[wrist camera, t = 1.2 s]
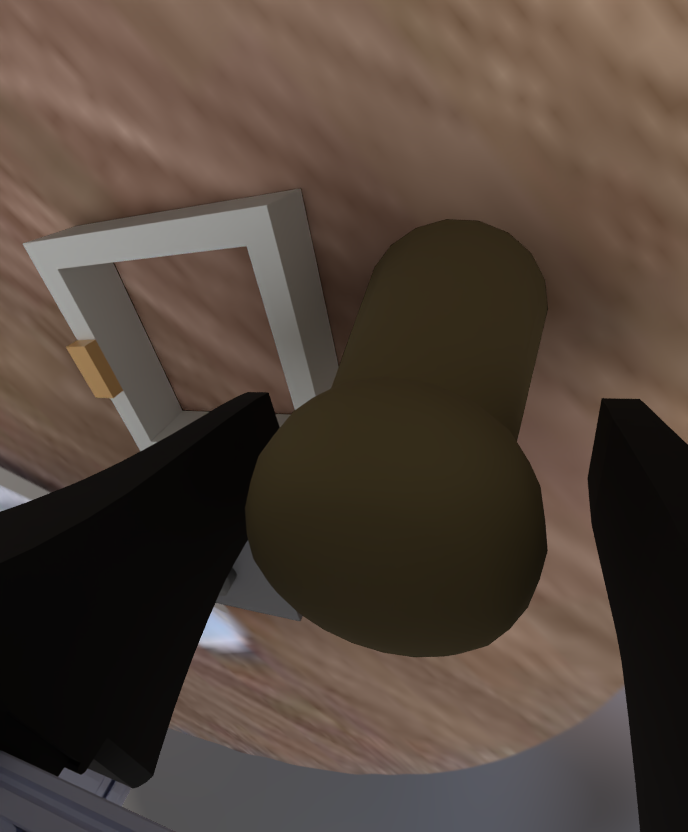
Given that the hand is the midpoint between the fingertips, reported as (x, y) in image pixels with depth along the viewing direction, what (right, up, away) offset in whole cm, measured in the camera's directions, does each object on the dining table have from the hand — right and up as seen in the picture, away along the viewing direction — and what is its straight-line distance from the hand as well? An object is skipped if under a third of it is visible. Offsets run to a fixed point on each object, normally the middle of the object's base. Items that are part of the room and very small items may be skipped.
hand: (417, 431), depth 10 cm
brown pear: (+2, +4, +5) cm, 7 cm away
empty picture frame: (-6, 0, +11) cm, 13 cm away
